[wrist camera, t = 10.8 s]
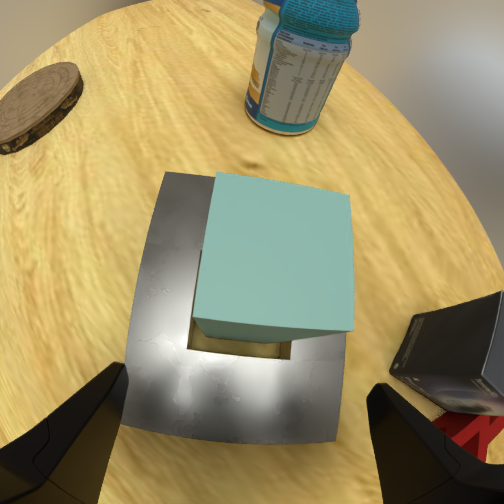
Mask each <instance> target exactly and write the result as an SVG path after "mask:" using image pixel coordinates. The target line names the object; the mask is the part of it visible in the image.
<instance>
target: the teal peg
mask: <svg viewBox="0 0 504 504" xmlns="http://www.w3.org/2000/svg"><path fill="white" fill-rule="evenodd" d="M193 318H194V319H195V321H196V323H197V324H198V326H199V327H200V329H201V330H202V332H203V333H204V334H205V336H206V337H211V338H219V339H228V340H237V341H246V342H257V343H275V342H284V341H292V340H299V339H307V338H314V337H320V336H327V335H333V334H339V333H345V332H350V331H354V253H353V233H352V218H351V206H350V195H346V194H342V193H337V192H332V191H328V190H323V189H318V188H313V187H308V186H303V185H297V184H292V183H286V182H281V181H275V180H269V179H263V178H256V177H250V176H243V175H236V174H229V173H221V172H217V173H216V178H215V183H214V188H213V193H212V199H211V204H210V209H209V215H208V220H207V226H206V232H205V238H204V244H203V250H202V256H201V262H200V269H199V275H198V282H197V289H196V296H195V303H194V311H193Z"/></svg>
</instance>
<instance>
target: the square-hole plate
mask: <svg viewBox="0 0 504 504" xmlns="http://www.w3.org/2000/svg"><path fill="white" fill-rule="evenodd" d="M215 178H216V177H210V176H202V175H193V174H184V173H175V172H165V175H164V178H163V181H162V184H161V187H160V191H159V194H158V198H157V201H156V205H155V208H154V212H153V215H152V219H151V223H150V227H149V231H148V235H147V239H146V243H145V247H144V251H143V256H142V260H141V265H140V269H139V274H138V279H137V284H136V289H135V295H134V300H133V306H132V312H131V318H130V324H129V331H128V338H127V346H126V354H125V363H124V364H125V365H126V368H127V372H128V377H129V385H128V390H127V394H126V399H125V404H124V409H123V414H122V419H121V423H120V424H123V425H127V426H131V427H135V428H139V429H143V430H148V431H152V432H157V433H162V434H167V435H172V436H178V437H184V438H191V439H198V440H206V441H216V442H226V443H241V444H308V443H322V442H333V441H336V434H337V428H338V420H339V413H340V405H341V396H342V386H343V375H344V363H345V348H346V332H345V333H339V334H333V335H327V336H320V337H314V338H307V339H299V340H292V341H284V342H281V344H280V355H279V359H277V358H263V357H252V356H241V355H232V354H223V353H215V352H207V351H200V350H193V349H191V340H192V332H193V325H194V318H193V311H194V303H195V296H196V289H197V282H198V275H199V269H200V262H201V256H202V250H203V244H204V238H205V232H206V226H207V220H208V215H209V209H210V204H211V199H212V193H213V188H214V183H215Z"/></svg>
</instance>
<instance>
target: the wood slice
mask: <svg viewBox="0 0 504 504" xmlns="http://www.w3.org/2000/svg"><path fill="white" fill-rule="evenodd" d="M83 85H84V84H83V81H82V78H81V75H80V71H79V69H78V67H77V65H76V64H74V63H71V62H60V63H56V64H52V65H49V66H46V67H44V68H42V69H40V70H38V71H36V72H34V73H32V74H31V75H29V76H28V77H26V78H25V79H23V80H22V81H20V82H19V83H18V84H17V85H15V86H14V87H13V88H12V89H11V90H10V91H9V92H8V93H7V94H6V95H5V96H4V97H3V98H2V99H1V100H0V154H2V155H7V154H11V153H15V152H18V151H20V150H22V149H24V148H26V147H28V146H30V145H32V144H33V143H35V142H36V141H37V140H39V139H40V138H41V137H43V136H44V135H46V134H47V133H49V132H50V131H51V130H52V129H53V128H54V127H55V126H56V125H57V124H58V123H60V122H61V121H62V120H63V119H64V118H65V117H66V116H67V114H68V113H69V112H70V111H71V110H72V109H73V107H74V106H75V105H76V103H77V101H78V100H79V98H80V96H81V94H82V91H83Z"/></svg>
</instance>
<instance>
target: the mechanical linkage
mask: <svg viewBox="0 0 504 504" xmlns="http://www.w3.org/2000/svg"><path fill="white" fill-rule="evenodd" d="M432 423H433V424H434V425H435V426H437V427H438V428H439V429H440V430H441V431H442V432H444V434H446V435H447V436H448V437H449V438H451V439H452V440H453V441H454V442H456V443H457V444H458V445H459V446H461V447H462V448H464V449H465V450H466V451H468V452H469V453H471V454H472V455H474V456H475V457H477V458H478V459H480V460H481V461H483V462H486V455H487V447H488V444H489V443H490V442H491V441H492V440H493V439H494V438H495V437H496V436H497V435H498V434H499V433H500V432H501V430H502V429H503V428H504V416H490V415H477V414H467V413H457V412H449V411H447V412H446V413H445V414H443V415H442V416H440V417H439V418H437V419H436V420H434V421H433V422H432Z"/></svg>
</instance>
